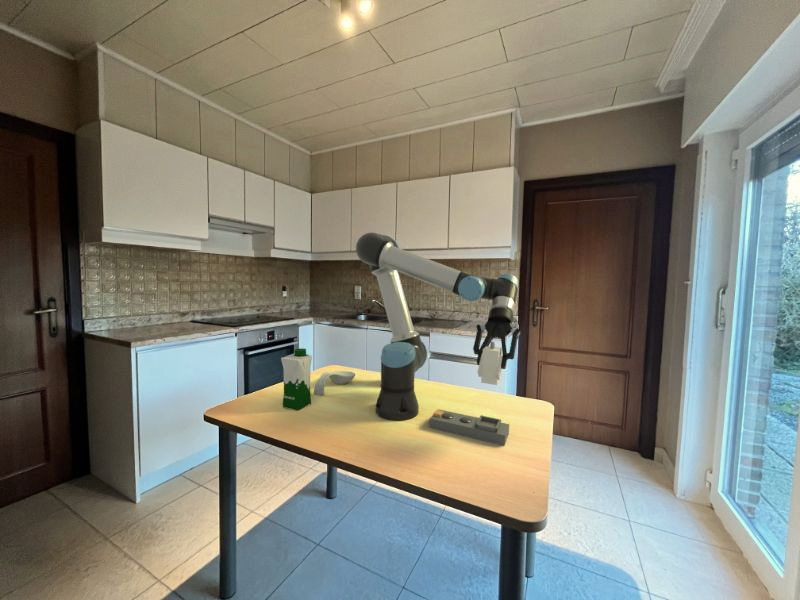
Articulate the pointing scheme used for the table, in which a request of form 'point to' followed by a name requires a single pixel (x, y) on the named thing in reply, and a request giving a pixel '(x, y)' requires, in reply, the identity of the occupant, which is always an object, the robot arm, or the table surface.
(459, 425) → the power strip
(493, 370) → the white block with knob
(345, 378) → the grey ladle
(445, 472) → the table surface
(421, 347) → the robot arm
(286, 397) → the milk carton
